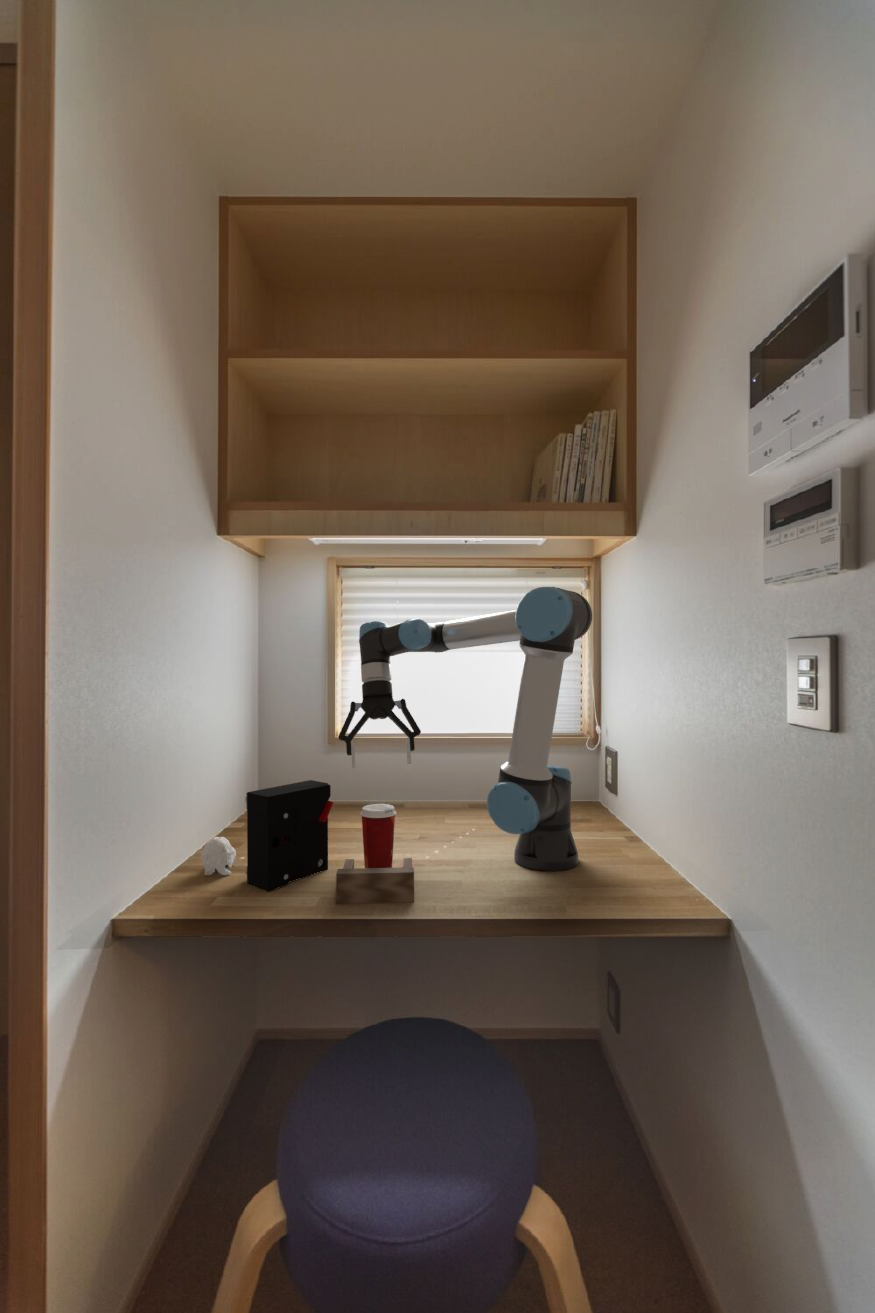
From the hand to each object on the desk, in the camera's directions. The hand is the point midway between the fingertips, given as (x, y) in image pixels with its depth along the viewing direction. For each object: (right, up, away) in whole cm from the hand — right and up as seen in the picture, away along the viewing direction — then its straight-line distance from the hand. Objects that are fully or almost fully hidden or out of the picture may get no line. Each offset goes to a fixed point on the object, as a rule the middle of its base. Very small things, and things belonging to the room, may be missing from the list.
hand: (381, 767), depth 161 cm
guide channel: (+1, -22, -17) cm, 28 cm away
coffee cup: (0, -22, -11) cm, 25 cm away
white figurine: (-36, -23, -9) cm, 44 cm away
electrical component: (-20, -23, -13) cm, 33 cm away
